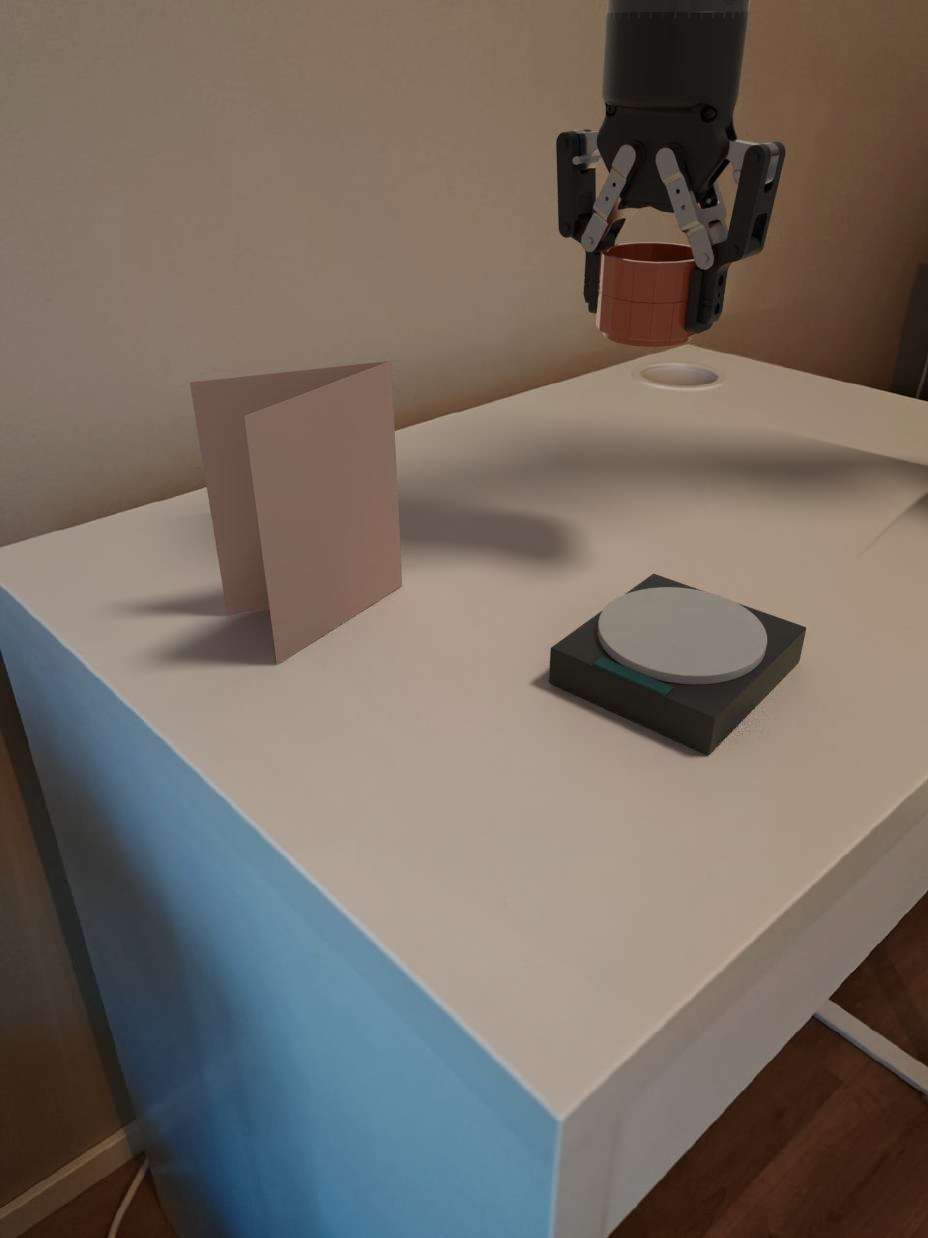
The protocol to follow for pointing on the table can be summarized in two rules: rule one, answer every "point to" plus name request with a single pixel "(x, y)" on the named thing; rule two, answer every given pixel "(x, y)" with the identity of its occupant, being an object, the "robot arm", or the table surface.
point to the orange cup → (645, 293)
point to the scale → (677, 660)
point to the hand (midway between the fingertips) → (648, 319)
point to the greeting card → (302, 494)
